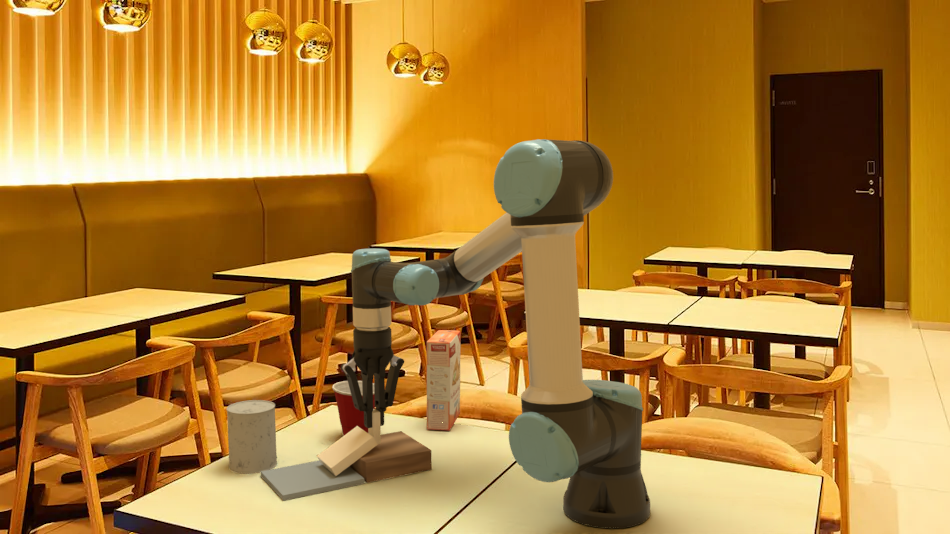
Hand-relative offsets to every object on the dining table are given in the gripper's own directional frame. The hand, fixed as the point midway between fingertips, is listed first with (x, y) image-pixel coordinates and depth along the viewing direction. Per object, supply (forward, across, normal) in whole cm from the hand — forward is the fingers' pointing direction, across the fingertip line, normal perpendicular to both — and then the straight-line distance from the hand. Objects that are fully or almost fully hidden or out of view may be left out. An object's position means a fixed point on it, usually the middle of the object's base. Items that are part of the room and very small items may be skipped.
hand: (374, 442), depth 172 cm
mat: (+5, +13, 0) cm, 14 cm away
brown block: (+5, -2, 0) cm, 6 cm away
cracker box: (+6, -26, -19) cm, 33 cm away
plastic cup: (+6, -4, -19) cm, 20 cm away
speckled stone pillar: (+6, +21, -14) cm, 26 cm away
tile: (+2, +5, 0) cm, 6 cm away
